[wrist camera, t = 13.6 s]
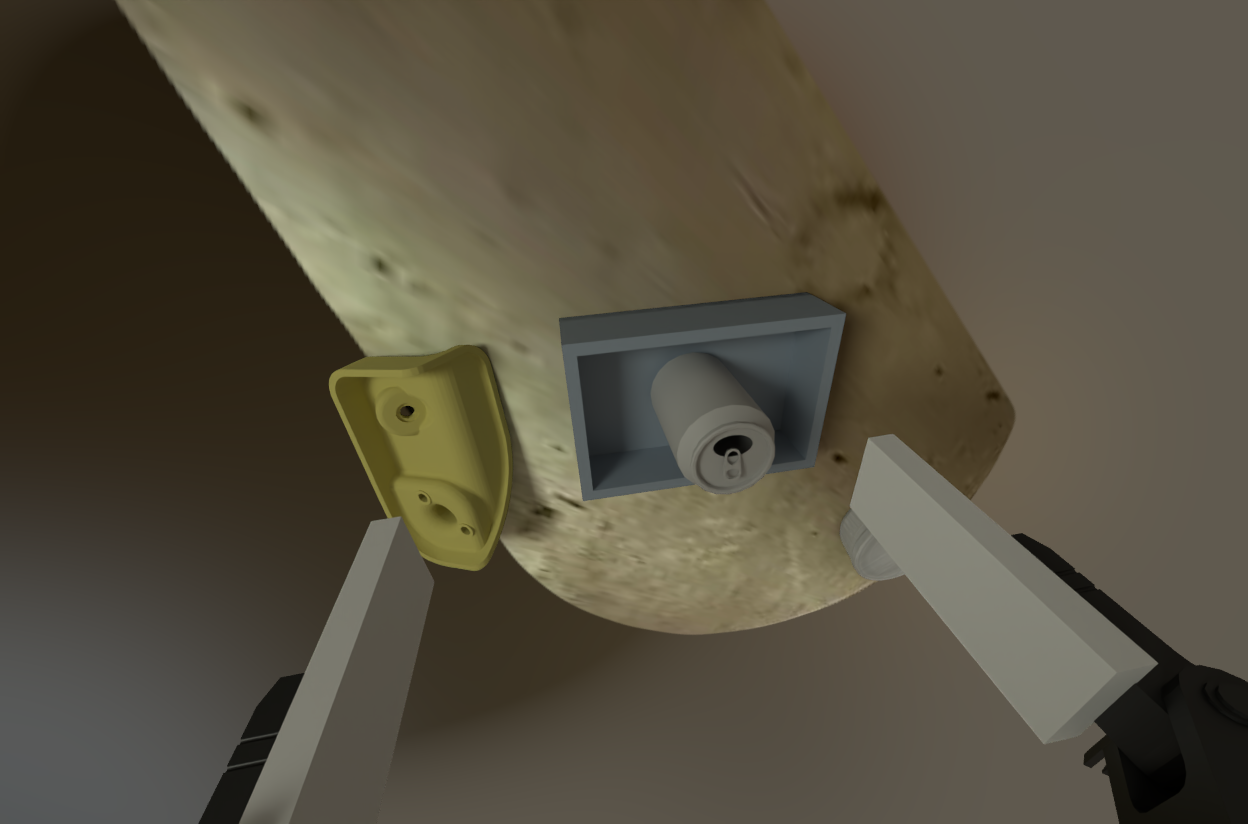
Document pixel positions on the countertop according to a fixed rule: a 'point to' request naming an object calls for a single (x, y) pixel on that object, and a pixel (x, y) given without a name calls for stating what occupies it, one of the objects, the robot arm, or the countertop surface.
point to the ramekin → (866, 550)
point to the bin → (648, 339)
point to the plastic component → (433, 448)
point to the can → (712, 424)
